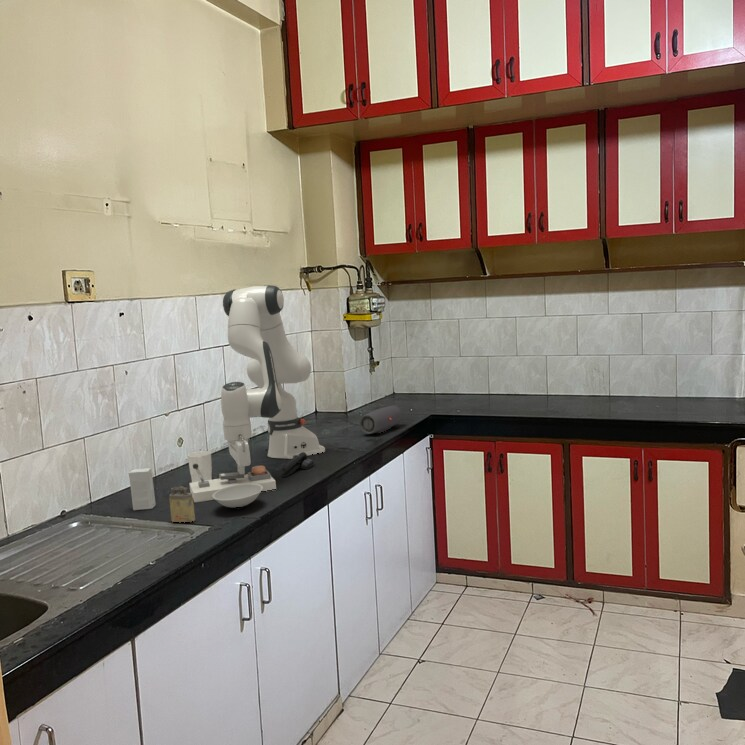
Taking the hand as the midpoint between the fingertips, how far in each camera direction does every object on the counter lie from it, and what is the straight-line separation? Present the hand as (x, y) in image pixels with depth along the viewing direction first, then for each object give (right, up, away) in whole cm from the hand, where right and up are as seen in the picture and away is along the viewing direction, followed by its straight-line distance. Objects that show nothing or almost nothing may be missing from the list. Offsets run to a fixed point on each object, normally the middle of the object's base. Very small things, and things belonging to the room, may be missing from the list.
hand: (241, 473), depth 243 cm
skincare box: (-28, -9, -13) cm, 32 cm away
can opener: (+16, -2, +20) cm, 26 cm away
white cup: (-16, -5, +14) cm, 22 cm away
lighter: (-12, -10, -29) cm, 33 cm away
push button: (+5, 0, +2) cm, 6 cm away
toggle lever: (-12, -2, -3) cm, 12 cm away
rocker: (-3, -1, -1) cm, 3 cm away
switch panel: (-3, -6, 0) cm, 6 cm away
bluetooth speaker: (+47, +7, +80) cm, 93 cm away
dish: (+3, -8, -19) cm, 21 cm away
